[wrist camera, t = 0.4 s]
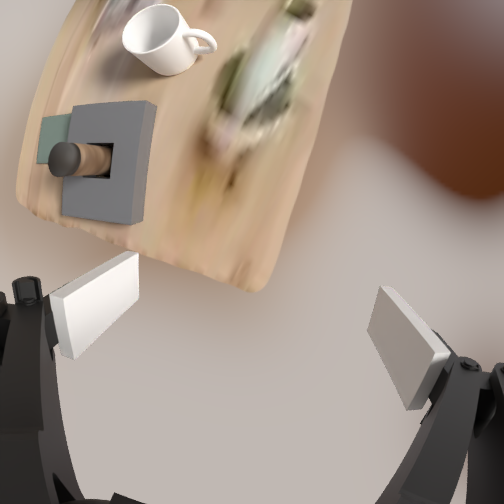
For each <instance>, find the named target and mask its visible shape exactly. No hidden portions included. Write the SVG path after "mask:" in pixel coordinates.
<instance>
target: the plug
mask: <svg viewBox="0 0 504 504" xmlns="http://www.w3.org/2000/svg"><path fill="white" fill-rule="evenodd" d="M112 155H113V148H111V147H103V146H96V145H87V144H79V143H69V142H59V143H57V144H55V145H54V146H53V148H52V149H51V151H50V154H49V158H48V166H49V170H50V172H51V173H52V174H53V175H54V176H56V177H63V176H83V175H110V173H111V163H112Z"/></svg>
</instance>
